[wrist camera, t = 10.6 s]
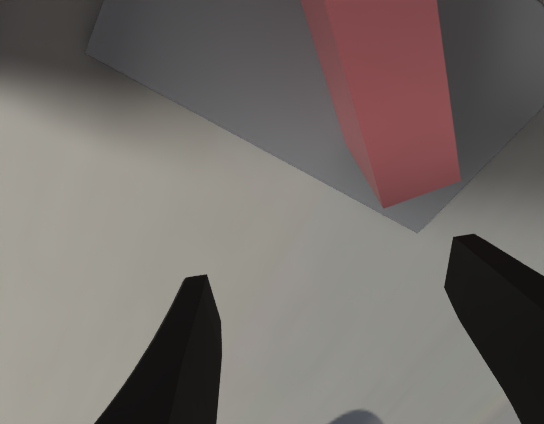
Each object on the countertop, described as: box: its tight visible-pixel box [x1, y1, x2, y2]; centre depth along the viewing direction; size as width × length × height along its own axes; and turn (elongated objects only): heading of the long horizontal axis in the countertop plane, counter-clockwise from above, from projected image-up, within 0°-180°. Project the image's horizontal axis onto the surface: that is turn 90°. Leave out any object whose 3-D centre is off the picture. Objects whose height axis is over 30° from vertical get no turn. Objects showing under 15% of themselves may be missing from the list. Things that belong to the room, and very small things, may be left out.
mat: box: [85, 0, 544, 233], centre depth 18 cm, size 20×12×1 cm, turn 58°
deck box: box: [300, 0, 461, 209], centre depth 15 cm, size 3×9×6 cm, turn 22°
